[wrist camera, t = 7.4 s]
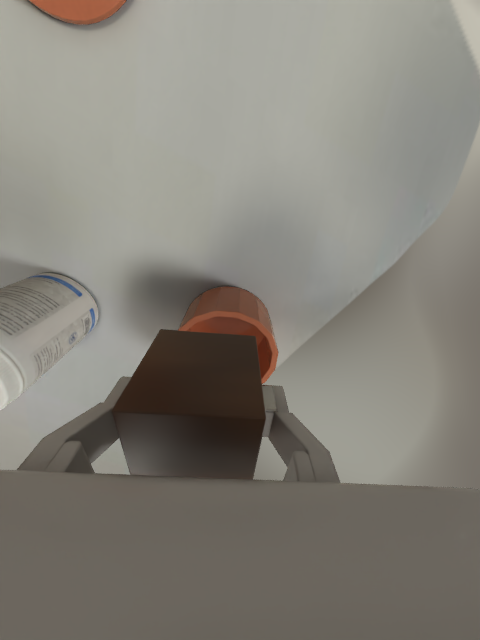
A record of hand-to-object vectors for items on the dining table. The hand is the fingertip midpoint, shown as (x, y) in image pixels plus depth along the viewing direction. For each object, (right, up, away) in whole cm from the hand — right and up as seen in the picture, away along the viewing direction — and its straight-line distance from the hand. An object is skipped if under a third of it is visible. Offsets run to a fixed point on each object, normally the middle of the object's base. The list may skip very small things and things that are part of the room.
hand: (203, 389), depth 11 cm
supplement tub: (-23, +6, +20) cm, 31 cm away
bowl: (0, +3, +21) cm, 21 cm away
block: (0, +1, +1) cm, 2 cm away
